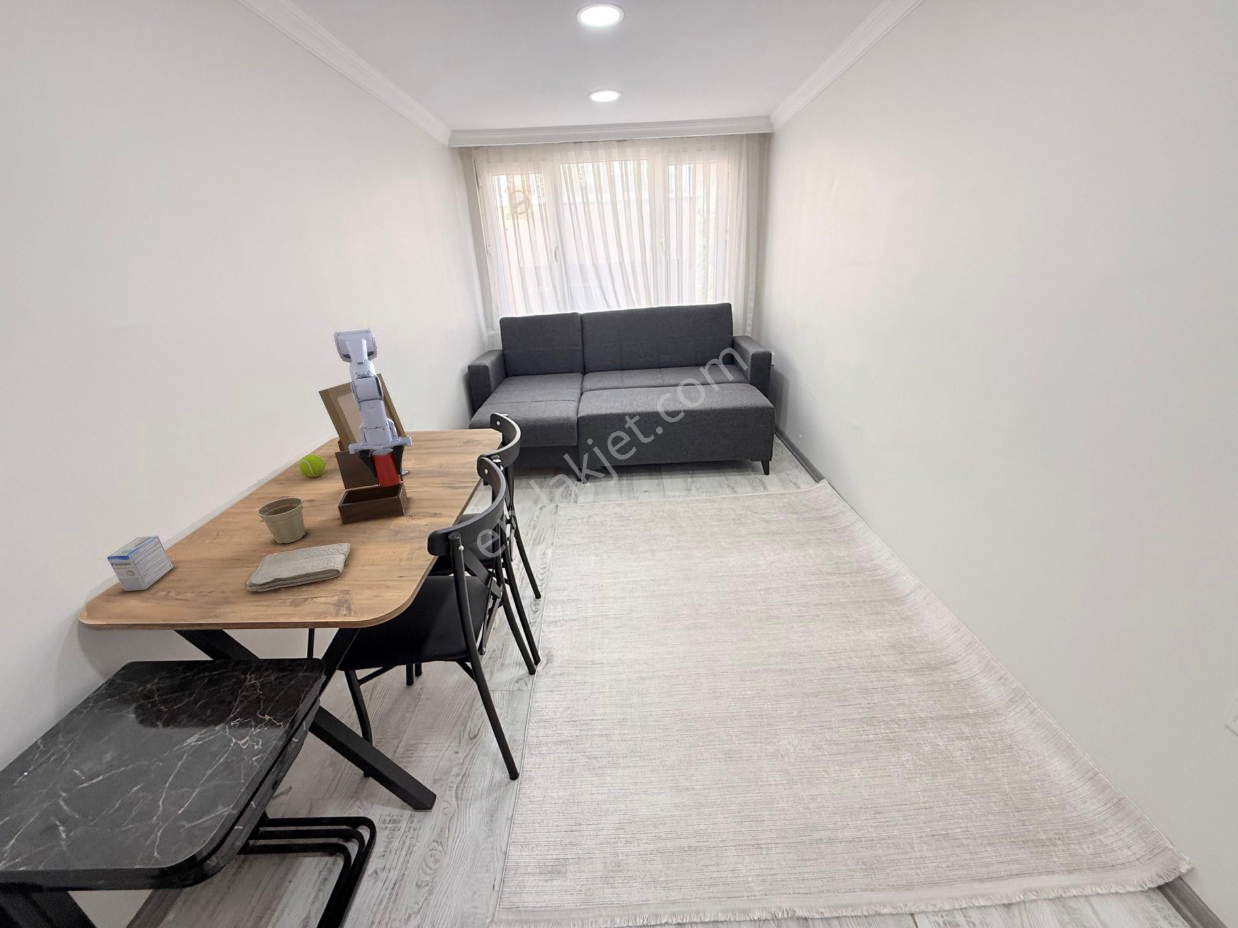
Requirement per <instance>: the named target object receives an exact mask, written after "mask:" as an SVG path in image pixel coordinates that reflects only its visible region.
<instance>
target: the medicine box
mask: <svg viewBox="0 0 1238 928" xmlns="http://www.w3.org/2000/svg"><path fill="white" fill-rule="evenodd" d="M106 558H107V561H108V563H109V565H110V567H111V569H112V571H113V572H114V574H115V576H116V577H117V580H118V582H119V583H120V585H121V587H122V589H123V590H124V591H126V592H132V591H145V590H147V589H148V588H150V587H151V586H152V585H153V584H155V583H156V582H157V581H158V580H160V579H161V578H162V577H163V576H165V575H166V574H167V573H168V572H169V571H170V570H172V569H173V568H174V566H173V564H172V562H171V560H170V557H169V555H168V553H167V551H166V549H165V547H164V545H163V542H162V540H161V538H160V537H159V535H145V536H137V537H135V538H134V539H132V540H131V541H129V542H127V543H126V544H124V545H123V546H121V547H120V548H119V549H117V550H115V551H114V552H113V553H111V554H109V555H108V556H107V557H106Z"/></svg>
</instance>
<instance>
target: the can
mask: <svg viewBox="0 0 1238 928" xmlns="http://www.w3.org/2000/svg"><path fill="white" fill-rule="evenodd" d="M392 451H393V449H390V448H386V449H379V450H376V451H374V452H373V453H372V457H373V461H374V465H375V469H376V473H377V476H378V480H379V484H380V485H379V486H384V487H387V486H393V485H396V484H398V483H400V481H401V478H400V474H399V475H398V472H397V466H396V462H395V459H394V456H393V453H392ZM401 482H402V481H401Z"/></svg>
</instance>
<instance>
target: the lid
mask: <svg viewBox="0 0 1238 928" xmlns="http://www.w3.org/2000/svg"><path fill="white" fill-rule="evenodd" d="M390 449H394V448H390ZM374 451H376V450H373V452H374ZM334 455H335V458H336V462H337V466H338V470H339V472H340V476H341V481H342V484H343V488H344V490H352V489H359V488H366V487H373V486H380V484H379V480H378V477H377V478H374V475H373V474H372V472H371V470H370V469H369V467H368V466H367V465H366V464H365V463H364V462H363V461H362V460H361V459H360V457H359V455H360V454H359V452H355V453H354V454H350V451H349V450H348V451H340V450H339V451H335V452H334ZM400 478H401V481H400V482H404V475H402V473H401V474H400ZM400 482H399V483H400Z"/></svg>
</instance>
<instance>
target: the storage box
mask: <svg viewBox="0 0 1238 928" xmlns="http://www.w3.org/2000/svg"><path fill="white" fill-rule="evenodd" d="M408 500H409V497H408V493H407V490H406V486H405V482H404V481H401V482H399V483H398V484H396V485H393V486H387V487H384V486H380V485H373V486H366V487H359V488H352V489H345V491H344V493H343V495H342V497H341V499H340V501H339V502H338V505H337V510H338V513H339V516H340V519H341V523H342V525H343V526H344V525H350V524H357V523H362V522H369V521H375V520H381V519H388V518H394V517H400V516H405V512H406V509H407V504H408Z"/></svg>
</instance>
